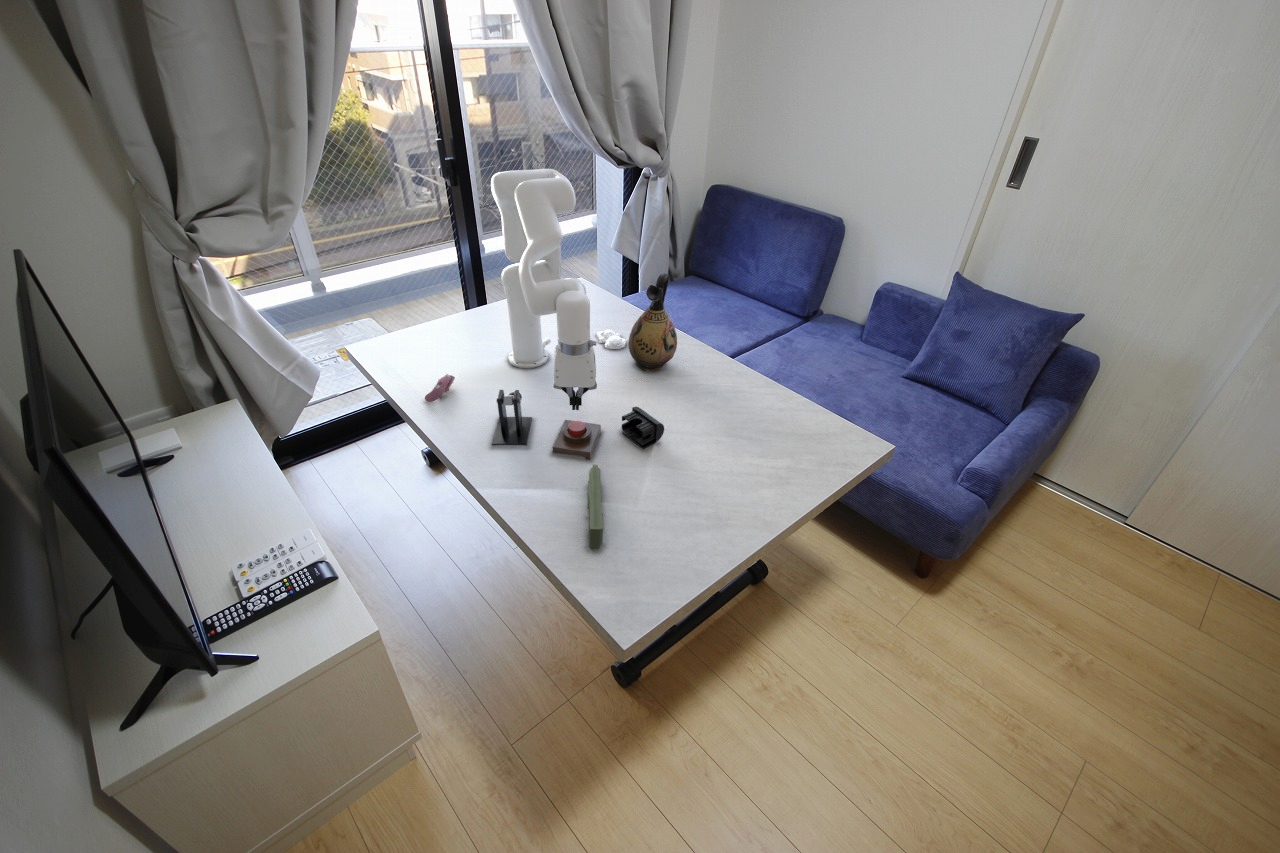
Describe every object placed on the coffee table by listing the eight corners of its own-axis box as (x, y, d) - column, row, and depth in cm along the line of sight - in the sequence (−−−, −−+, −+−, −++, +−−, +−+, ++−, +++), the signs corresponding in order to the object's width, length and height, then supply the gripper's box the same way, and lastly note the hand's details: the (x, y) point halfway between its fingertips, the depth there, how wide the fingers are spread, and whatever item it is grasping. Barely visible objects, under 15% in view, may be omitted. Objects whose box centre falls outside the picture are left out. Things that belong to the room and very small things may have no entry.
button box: (565, 427, 156) (564, 414, 154) (600, 432, 155) (600, 419, 152) (552, 454, 147) (551, 441, 144) (590, 460, 146) (590, 447, 143)
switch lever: (509, 403, 158) (509, 390, 158) (522, 403, 158) (522, 390, 158) (500, 407, 145) (500, 393, 145) (515, 407, 145) (514, 393, 145)
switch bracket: (499, 420, 158) (494, 381, 150) (532, 420, 158) (528, 381, 150) (492, 447, 148) (486, 407, 140) (526, 447, 149) (522, 408, 141)
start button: (571, 425, 150) (570, 419, 149) (587, 427, 150) (587, 422, 149) (566, 435, 147) (566, 429, 146) (583, 437, 147) (582, 432, 146)
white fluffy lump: (615, 331, 201) (615, 323, 199) (629, 347, 193) (630, 339, 191) (592, 335, 198) (592, 328, 196) (606, 352, 190) (606, 344, 188)
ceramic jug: (666, 381, 177) (674, 291, 158) (620, 370, 181) (622, 282, 162) (682, 356, 190) (691, 270, 171) (639, 346, 193) (643, 261, 175)
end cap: (663, 440, 154) (665, 420, 150) (644, 450, 150) (645, 430, 146) (639, 422, 159) (640, 403, 155) (620, 432, 156) (620, 412, 152)
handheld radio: (586, 549, 123) (587, 471, 142) (602, 549, 123) (600, 471, 143) (587, 528, 119) (588, 451, 138) (603, 528, 119) (602, 451, 139)
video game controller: (437, 408, 163) (443, 392, 159) (422, 400, 162) (428, 384, 158) (452, 390, 171) (459, 374, 166) (439, 382, 170) (445, 366, 166)
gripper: (606, 336, 136) (605, 398, 148) (543, 335, 135) (547, 397, 147) (605, 353, 130) (605, 416, 142) (540, 351, 129) (544, 415, 141)
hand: (575, 406), depth 144 cm, fingers closed
